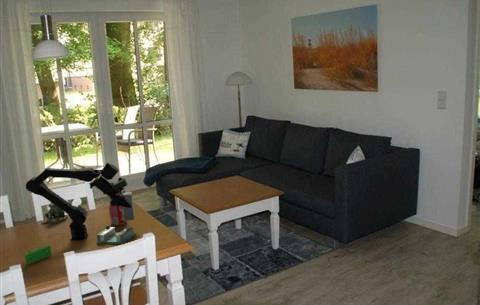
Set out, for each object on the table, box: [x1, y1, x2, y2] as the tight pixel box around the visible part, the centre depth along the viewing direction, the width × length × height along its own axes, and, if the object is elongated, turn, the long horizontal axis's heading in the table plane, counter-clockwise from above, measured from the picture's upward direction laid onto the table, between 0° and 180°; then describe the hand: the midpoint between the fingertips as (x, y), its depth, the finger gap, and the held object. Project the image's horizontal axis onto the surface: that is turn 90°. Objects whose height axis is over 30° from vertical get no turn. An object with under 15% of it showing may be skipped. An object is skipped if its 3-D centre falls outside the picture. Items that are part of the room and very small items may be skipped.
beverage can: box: [108, 204, 127, 226], centre depth 224 cm, size 8×8×12 cm
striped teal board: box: [96, 224, 136, 245], centre depth 203 cm, size 14×11×6 cm
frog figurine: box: [42, 201, 69, 224], centre depth 236 cm, size 18×18×12 cm
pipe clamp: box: [24, 245, 52, 266], centre depth 186 cm, size 11×4×5 cm, turn 145°
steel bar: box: [122, 191, 136, 222], centre depth 210 cm, size 4×5×13 cm
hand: (131, 205), depth 210 cm, fingers closed on steel bar, 5 cm apart
